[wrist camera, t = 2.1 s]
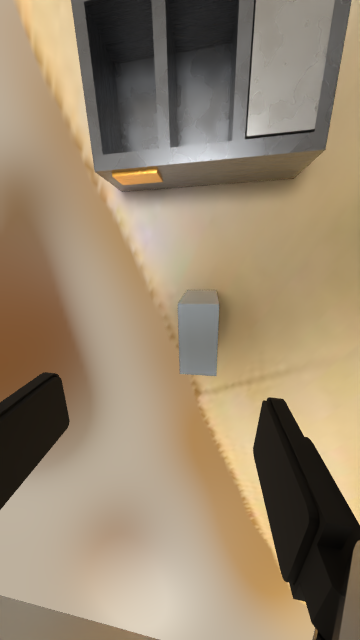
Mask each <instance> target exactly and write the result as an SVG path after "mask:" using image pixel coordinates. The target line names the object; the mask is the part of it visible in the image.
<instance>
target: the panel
mask: <svg viewBox="0 0 360 640" xmlns="http://www.w3.org/2000/svg"><path fill="white" fill-rule="evenodd" d="M218 324H219V300H218V296H217V291H216V290H186V292H185V293H184V295H183V296H182V298H181V300H180V301H179V303H178V328H179V362H180V374H191V375H207V376H216V371H217V347H218Z"/></svg>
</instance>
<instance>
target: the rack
mask: <svg viewBox="0 0 360 640" xmlns="http://www.w3.org/2000/svg"><path fill="white" fill-rule="evenodd" d="M71 3H72V11H73V18H74V25H75V32H76V39H77V47H78V54H79V61H80V68H81V76H82V83H83V90H84V97H85V104H86V112H87V119H88V126H89V133H90V141H91V148H92V155H93V162H94V170H95V172H96V173H97V174H99V175H100V176H101V177H103V178H104V179H106V180H107V181H108V182H110V183H111V184H112V185H114V186H115V187H116V188H118V189H119V190H120V191H122V192H125V191H138V190H151V189H164V188H177V187H190V186H203V185H216V184H229V183H242V182H255V181H268V180H281V179H294V178H295V177H296V176H297V175H298V174H299V173H300V172H301V171H302V170H303V169H305V168H306V167H307V166H308V165H309V164H310V163H311V162H312V161H313V160H314V159H316V158H317V157H318V156H319V155H320V154H321V153H322V152H323V151H324V150H325V148H326V143H327V137H328V131H329V126H330V120H331V114H332V108H333V103H334V97H335V91H336V86H337V80H338V74H339V69H340V63H341V57H342V52H343V46H344V40H345V35H346V29H347V23H348V17H349V12H350V6H351V0H71Z"/></svg>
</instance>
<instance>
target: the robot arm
mask: <svg viewBox="0 0 360 640" xmlns="http://www.w3.org/2000/svg"><path fill="white" fill-rule="evenodd" d="M68 425H69V416H68V411H67V406H66V400H65V395H64V390H63V385H62V380H61V378H60V377H59V375H58V374H55V373H46V372H45V373H42V374H40V375H39V376H37V377H36V378H35V379H33V380H32V381H30V382H29V383H28V384H26V385H25V386H23V387H22V388H20V389H19V390H17V391H16V392H15V393H13V394H12V395H10V396H9V397H7V398H6V399H4V400H3V401H2V402H0V509H1V508H2V507H3V506H4V505H5V503H6V502H7V501H8V500H9V498H10V497H11V496H12V495H13V494H14V492H15V491H16V490H17V489H18V488H19V486H20V485H21V484H22V483H23V481H24V480H25V479H26V478H27V477H28V475H29V474H30V473H31V472H32V471H33V469H34V468H35V467H36V466H37V465H38V463H39V462H40V461H41V459H42V458H43V457H44V456H45V455H46V453H47V452H48V451H49V450H50V449H51V447H52V446H53V445H54V444H55V443H56V441H57V440H58V439H59V437H60V436H61V435H62V434H63V433H64V431H65V430H66V429H67V428H68ZM253 453H254V459H255V463H256V468H257V472H258V476H259V480H260V485H261V489H262V493H263V498H264V502H265V506H266V510H267V515H268V519H269V523H270V528H271V532H272V536H273V540H274V545H275V549H276V553H277V558H278V562H279V566H280V570H281V574H282V577H283V579H284V581H285V582H289V584H290V588H291V591H292V595H293V599H297V600H301V601H305V602H306V605H307V608H308V611H309V615H310V619H311V622H312V624H313V625H314V627H315V631H314V635H313V640H360V525H359V523H358V522H357V520H356V518H355V516H354V514H353V513H352V511H351V509H350V507H349V506H348V504H347V502H346V500H345V499H344V497H343V495H342V493H341V492H340V490H339V488H338V486H337V485H336V483H335V481H334V479H333V478H332V476H331V474H330V472H329V471H328V469H327V467H326V465H325V463H324V462H323V460H322V458H321V456H320V455H319V453H318V451H317V449H316V448H315V446H314V444H313V443H312V441H311V440H310V439H309V438H308V437H304V436H303V434H302V432H301V430H300V428H299V426H298V424H297V423H296V421H295V419H294V417H293V415H292V413H291V411H290V410H289V408H288V406H287V404H286V402H285V401H284V400H283V399H279V398H270V397H269V398H268V399H267V401H263V402H262V407H261V412H260V417H259V422H258V427H257V432H256V437H255V442H254V447H253ZM0 640H159V639H155V638H151V637H148V636H144V635H141V634H137V633H134V632H130V631H127V630H123V629H120V628H116V627H113V626H109V625H106V624H102V623H98V622H95V621H91V620H88V619H84V618H80V617H76V616H73V615H70V614H66V613H62V612H58V611H55V610H51V609H48V608H44V607H41V606H37V605H33V604H30V603H26V602H22V601H19V600H15V599H11V598H7V597H4V596H0Z"/></svg>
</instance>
